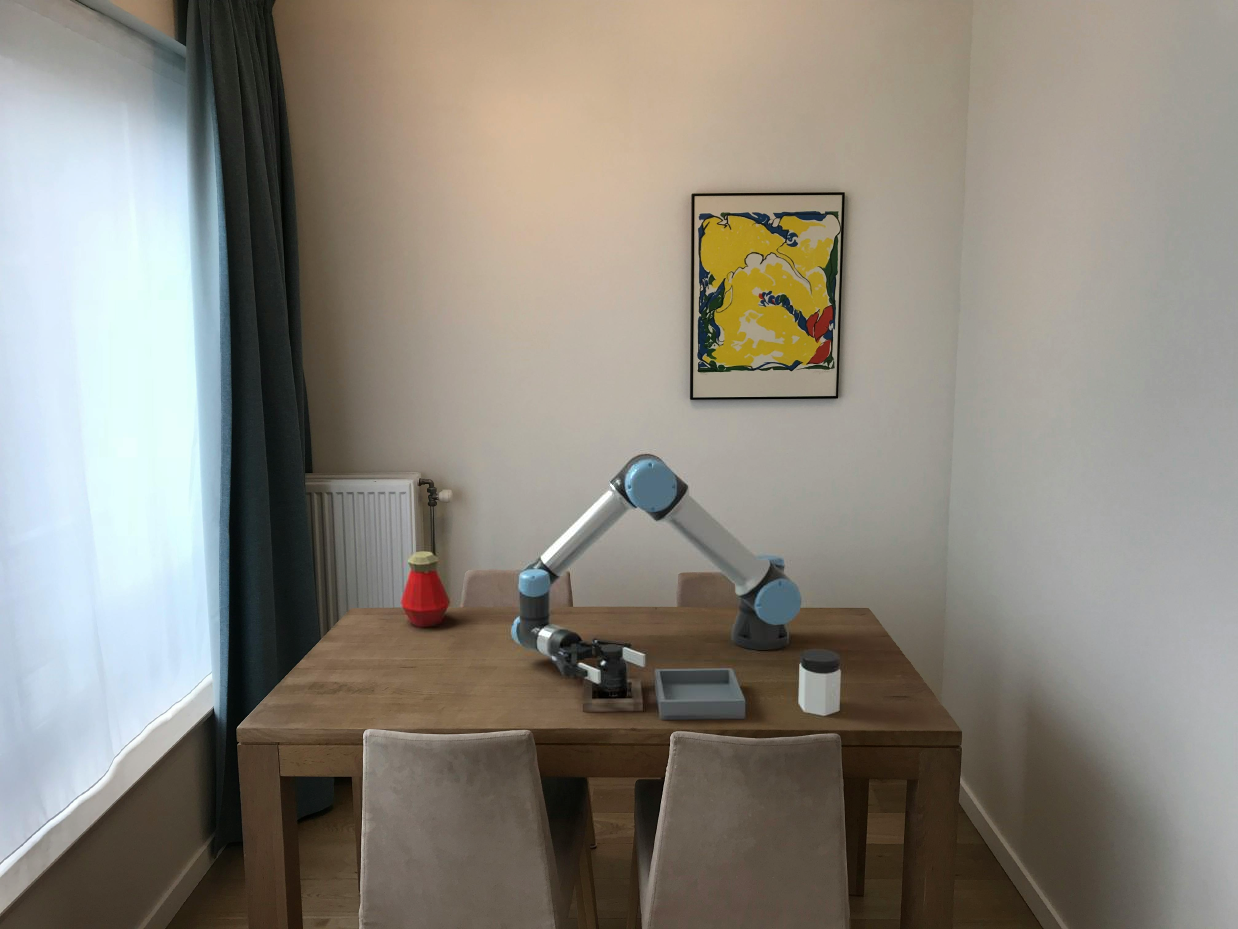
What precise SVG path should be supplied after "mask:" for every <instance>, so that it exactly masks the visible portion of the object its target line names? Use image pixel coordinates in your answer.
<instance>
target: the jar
mask: <svg viewBox="0 0 1238 929" xmlns="http://www.w3.org/2000/svg"><path fill="white" fill-rule="evenodd" d="M840 662H841V661H840V655H839V654H838V653H837V652H836V651H833V650H829V649H824V648H809V649H806V650H804V651H802V652H801V655H800V663H799V666H798V667H799V668H798V669H799V670H798V672H799V674H798V676H799V677H798V700H797V701H798V706H800V708H801V710H802V711H803V713H807V714H811V715H816V716H823V717H826V716H828V715H829V716H830V715H831V714H832V715H833V714H835V713H837V712H839V711H840V708H841V707H840V702H841V701H840V700H841V676H842V674H841V673H842V671H841V669H840V665H841V663H840Z"/></svg>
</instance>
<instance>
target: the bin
mask: <svg viewBox="0 0 1238 929" xmlns="http://www.w3.org/2000/svg"><path fill="white" fill-rule="evenodd" d="M654 690H655V695H656V701H657V706H658V714H659V719H660V721H665V720H666V721H669V720H673V721H674V720H675V721H677V720H679V721H680V720H684V721H685V720H745V719H746V699H745V696H744V694H743V691H742V689H741V687H740V684H739V682H738V679H737V677H736V674H735V672H734V670H733V668H729V667H727V668H726V667H725V668H668V669H667V668H665V669H664V668H661V669H658V668H657V669H656V668H655V669H654Z"/></svg>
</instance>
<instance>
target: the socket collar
mask: <svg viewBox="0 0 1238 929" xmlns="http://www.w3.org/2000/svg"><path fill="white" fill-rule="evenodd" d="M582 685H583V687H582V712H583V713H584V712H585V713H587V712H590V713H591V712H593V713H595V712H596V713H597V712H599V713H600V712H643V710H644V708H643V706H644V705H643V704H644V702H643V694H642V684H641V678H627V691H631V698H627V699H598V698H593V692H597V683H595V682H593V681H591V680H588V679H586V678H583V682H582Z"/></svg>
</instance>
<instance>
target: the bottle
mask: <svg viewBox="0 0 1238 929" xmlns="http://www.w3.org/2000/svg"><path fill="white" fill-rule="evenodd" d="M438 562H439V558H438V557H437V556H436V555H435V554H434V553H433V552H431V551H417V552H413V554H412V555H410V556H409V558H407V563H408V565H409V567H410V570H409V575H408V577H407V582H406V583H405V587H404V591H403V593H402V597H401V601H400V605H401V607H402V608H403V610H404V612H405V614H406V616H407V618H408V619H409V622H410V623H411V625H412V626H413V627H417V628H425V629H426V628H434V627H437V626H440V625H441V623H442V621H443V618H444V616H445V614H446V612H447V610H448V607H449V605H450V603H451V601H450V598H449V596H448V593H447V592H446V590H445V587H444V585H443V583H442V580H441V578H440V576H439V574H438V572H437V569H436V568H437V566H438Z"/></svg>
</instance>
